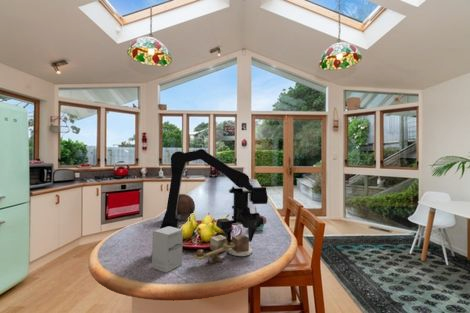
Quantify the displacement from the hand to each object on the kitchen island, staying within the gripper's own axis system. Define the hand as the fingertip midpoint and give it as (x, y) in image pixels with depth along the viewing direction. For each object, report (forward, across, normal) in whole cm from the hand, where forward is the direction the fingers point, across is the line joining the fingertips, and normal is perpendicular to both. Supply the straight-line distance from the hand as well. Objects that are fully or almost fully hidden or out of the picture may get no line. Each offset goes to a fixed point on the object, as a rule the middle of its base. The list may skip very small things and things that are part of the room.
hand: (240, 243), depth 99 cm
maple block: (+4, -6, +6) cm, 10 cm away
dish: (+4, 0, 0) cm, 4 cm away
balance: (+4, -12, -4) cm, 14 cm away
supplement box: (+4, -28, 0) cm, 29 cm away
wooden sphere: (+4, -7, +57) cm, 58 cm away
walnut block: (+2, 0, 0) cm, 2 cm away
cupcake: (+4, +24, +23) cm, 33 cm away
